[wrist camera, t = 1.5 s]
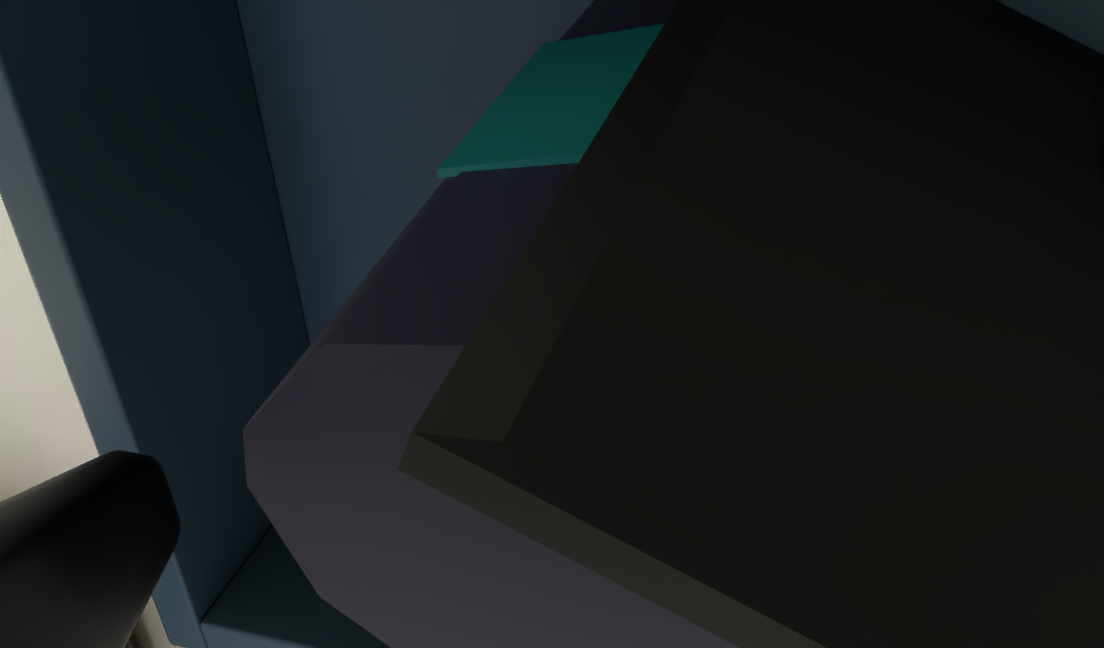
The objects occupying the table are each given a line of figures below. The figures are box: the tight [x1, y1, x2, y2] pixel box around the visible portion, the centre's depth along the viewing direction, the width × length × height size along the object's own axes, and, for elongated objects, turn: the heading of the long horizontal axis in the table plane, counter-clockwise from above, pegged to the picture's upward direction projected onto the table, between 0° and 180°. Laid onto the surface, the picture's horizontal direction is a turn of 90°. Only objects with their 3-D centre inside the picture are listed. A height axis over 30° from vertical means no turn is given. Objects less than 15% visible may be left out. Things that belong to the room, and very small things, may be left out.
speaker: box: [243, 0, 1104, 648], centre depth 11 cm, size 8×6×10 cm
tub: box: [0, 0, 1104, 648], centre depth 13 cm, size 19×16×5 cm
